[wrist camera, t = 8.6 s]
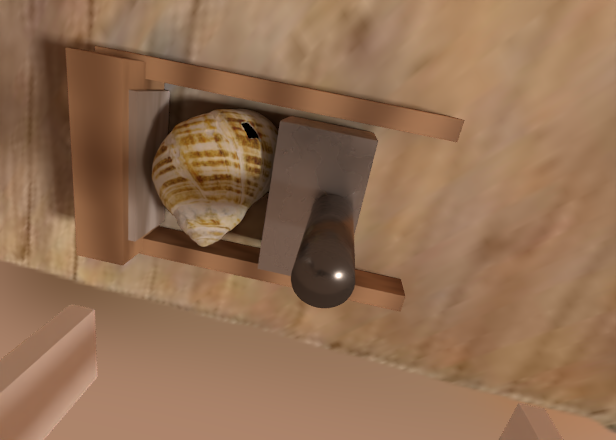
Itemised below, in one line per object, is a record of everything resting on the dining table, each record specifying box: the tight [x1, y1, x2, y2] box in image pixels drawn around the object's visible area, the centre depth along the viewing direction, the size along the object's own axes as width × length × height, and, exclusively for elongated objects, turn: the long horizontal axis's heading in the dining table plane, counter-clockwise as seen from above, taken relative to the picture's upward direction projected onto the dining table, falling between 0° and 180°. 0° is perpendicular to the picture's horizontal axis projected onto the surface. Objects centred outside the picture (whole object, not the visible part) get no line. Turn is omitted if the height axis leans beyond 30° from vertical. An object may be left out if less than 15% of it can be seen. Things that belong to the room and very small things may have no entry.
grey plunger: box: [258, 116, 378, 308], centre depth 25 cm, size 7×12×15 cm, turn 169°
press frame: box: [65, 46, 464, 311], centre depth 29 cm, size 28×17×6 cm, turn 79°
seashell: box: [152, 109, 278, 247], centre depth 29 cm, size 10×10×10 cm
